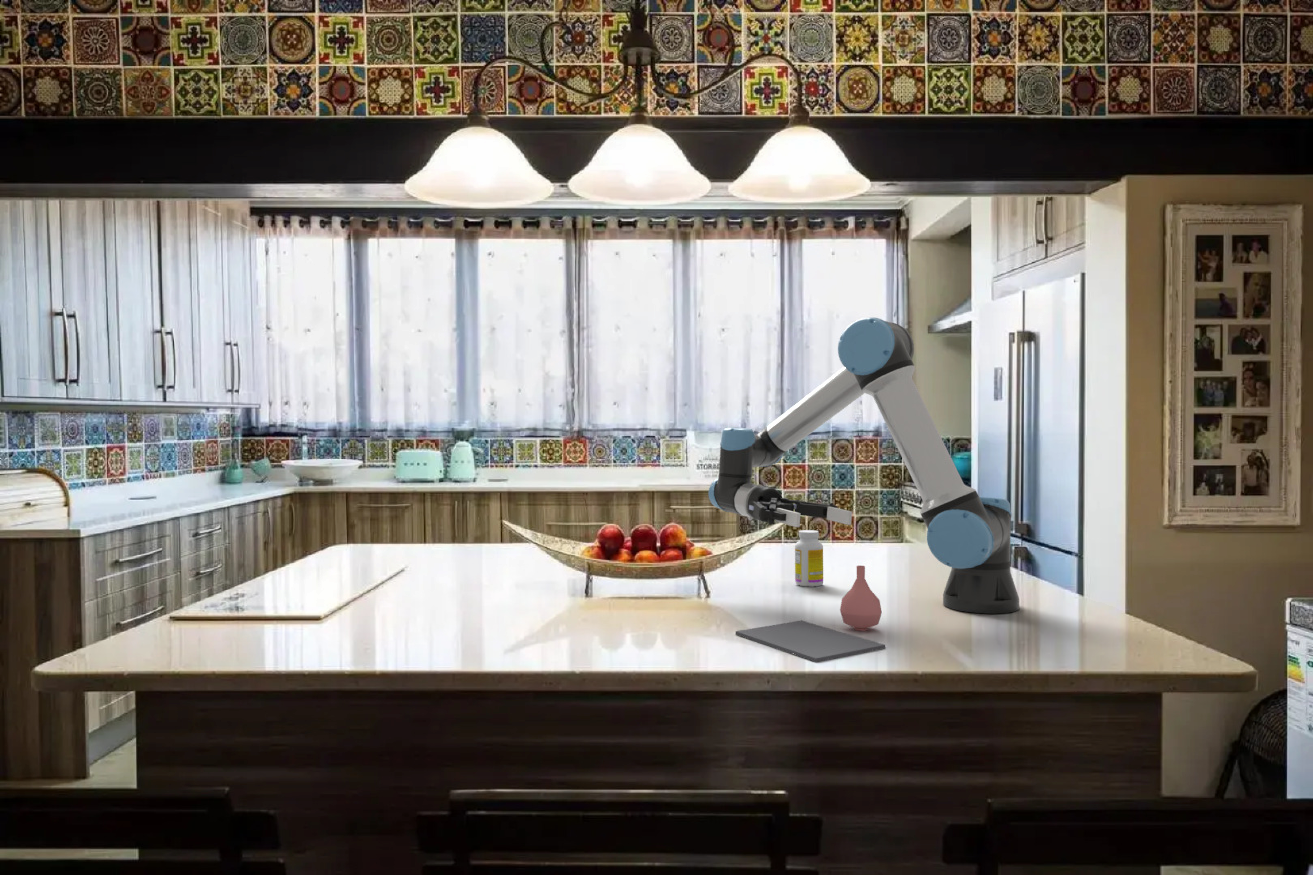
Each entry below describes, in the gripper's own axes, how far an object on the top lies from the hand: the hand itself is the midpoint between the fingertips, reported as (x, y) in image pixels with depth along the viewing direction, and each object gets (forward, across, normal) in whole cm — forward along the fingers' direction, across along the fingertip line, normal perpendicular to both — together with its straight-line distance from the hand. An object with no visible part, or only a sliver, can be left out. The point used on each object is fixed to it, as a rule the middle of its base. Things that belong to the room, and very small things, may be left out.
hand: (825, 519), depth 178 cm
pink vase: (+12, 0, -19) cm, 23 cm away
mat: (+13, +14, -19) cm, 27 cm away
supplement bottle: (-27, -21, -21) cm, 41 cm away
